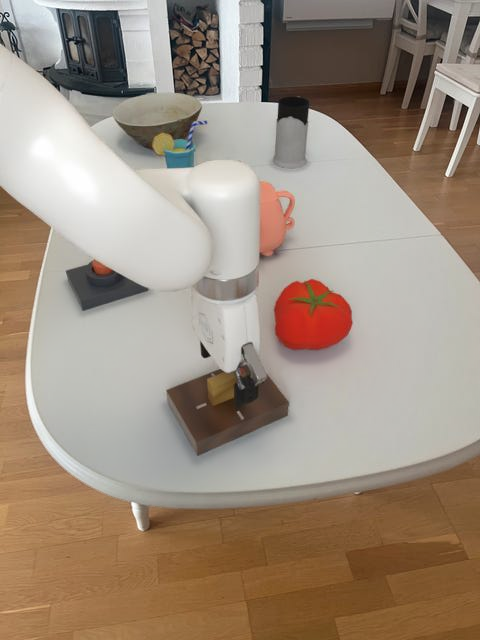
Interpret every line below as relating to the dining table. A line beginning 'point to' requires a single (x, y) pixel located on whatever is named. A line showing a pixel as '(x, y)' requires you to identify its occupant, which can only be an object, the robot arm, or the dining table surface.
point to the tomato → (311, 316)
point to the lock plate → (222, 412)
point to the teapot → (273, 218)
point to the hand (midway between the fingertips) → (228, 376)
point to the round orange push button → (100, 268)
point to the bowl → (157, 116)
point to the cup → (176, 148)
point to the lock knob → (222, 387)
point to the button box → (100, 286)
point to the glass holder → (291, 132)
